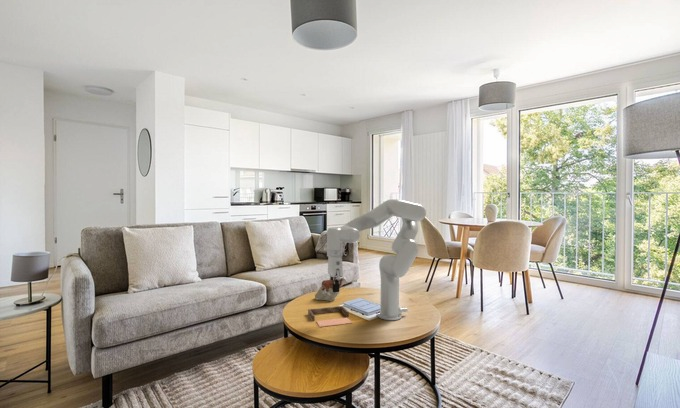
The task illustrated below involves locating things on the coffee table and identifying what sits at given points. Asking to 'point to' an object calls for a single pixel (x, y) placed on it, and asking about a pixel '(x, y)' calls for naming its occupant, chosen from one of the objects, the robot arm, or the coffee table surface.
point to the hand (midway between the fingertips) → (334, 290)
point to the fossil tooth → (325, 297)
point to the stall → (327, 311)
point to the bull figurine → (329, 285)
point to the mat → (333, 322)
